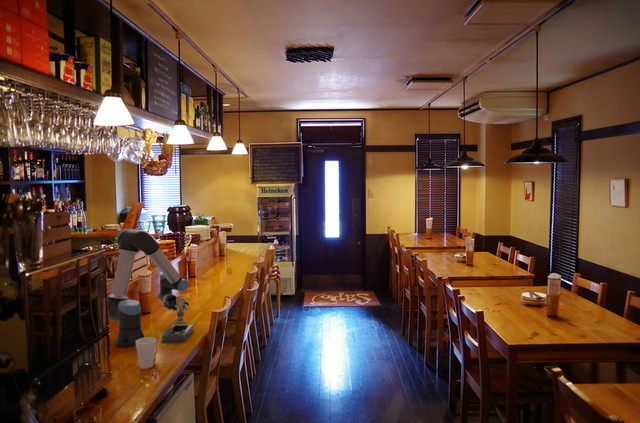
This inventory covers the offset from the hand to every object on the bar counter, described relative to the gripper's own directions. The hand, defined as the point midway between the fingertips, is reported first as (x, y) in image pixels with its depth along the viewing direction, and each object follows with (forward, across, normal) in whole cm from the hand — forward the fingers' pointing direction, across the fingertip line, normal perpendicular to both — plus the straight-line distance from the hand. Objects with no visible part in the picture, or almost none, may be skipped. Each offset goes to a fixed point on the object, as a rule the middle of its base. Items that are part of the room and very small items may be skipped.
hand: (183, 309), depth 261 cm
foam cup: (+32, +30, -16) cm, 46 cm away
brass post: (-5, 0, -9) cm, 10 cm away
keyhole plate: (-2, +3, -16) cm, 17 cm away
